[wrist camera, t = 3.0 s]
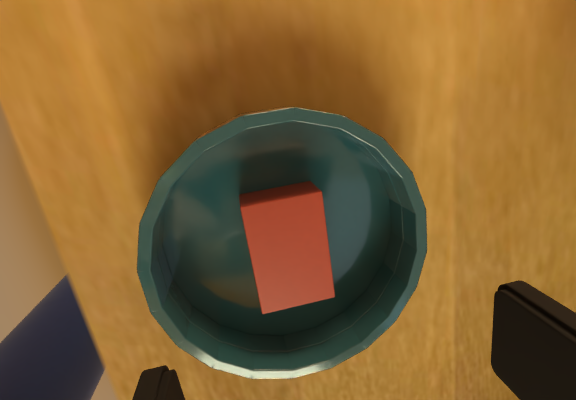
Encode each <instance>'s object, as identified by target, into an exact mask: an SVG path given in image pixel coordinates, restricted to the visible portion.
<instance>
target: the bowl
mask: <svg viewBox="0 0 576 400" xmlns="http://www.w3.org/2000/svg"><path fill="white" fill-rule="evenodd" d="M307 181H311V182H312V183H313V184H314V185H315V186H316V187H317V188H318V189H320V190H321V191H322V196H323V204H324V212H325V220H326V228H327V236H328V244H329V252H330V260H331V268H332V276H333V284H334V292H335V297H333V298H329V299H325V300H321V301H317V302H312V303H308V304H304V305H300V306H296V307H291V308H287V309H283V310H279V311H275V312H270V313H266V314H262V311H261V306H260V302H259V297H258V292H257V287H256V282H255V277H254V273H253V268H252V263H251V258H250V253H249V248H248V244H247V239H246V234H245V229H244V224H243V219H242V215H241V210H240V201H239V195H240V194H244V193H250V192H255V191H260V190H265V189H270V188H276V187H281V186H286V185H291V184H297V183H302V182H307ZM426 253H427V224H426V208H425V205H424V202H423V200H422V197H421V194H420V192H419V189H418V186H417V183H416V181H415V178H414V175H413V173H412V171H411V170H410V169H409V167H408V166H407V165H406V164H405V163H404V161H403V160H402V159H401V158H400V157H399V156H398V154H397V153H396V152H395V151H394V150H393V149H392V147H391V146H390V145H389V144H388V143H387V141H386V140H385V139H383V138H382V137H381V136H379V135H377V134H376V133H374V132H372V131H370V130H368V129H367V128H365V127H363V126H361V125H360V124H358V123H356V122H354V121H353V120H351V119H349V118H347V117H345V116H343V115H339V114H333V113H328V112H322V111H316V110H310V109H304V108H299V107H278V108H272V109H266V110H259V111H254V112H248V113H242V114H241V115H240V114H239V115H237V116H235V117H233V118H231V119H229V120H227V121H225V122H223V123H221V124H220V125H218V126H216V127H214V128H212V129H210V130H208V131H207V132H205V133H203V134H201V135H200V136H199V137H198V138H197V139H196V140H195V141H194V142H193V143H192V144H191V145H190V146H189V147H188V148H187V149H186V150H185V151H184V152H183V153H182V154H181V156H180V157H179V158H178V159H177V160H176V161H175V162H174V163H173V164H172V165H171V166H170V167H169V168H168V169H167V170H166V172H165V173H164V174H163V175H162V176H161V177H160V179H159V180H158V182H157V184H156V186H155V189H154V191H153V193H152V195H151V198H150V200H149V202H148V205H147V207H146V209H145V212H144V214H143V216H142V219H141V221H140V223H139V236H138V256H137V273H138V276H139V279H140V282H141V285H142V288H143V291H144V294H145V297H146V300H147V304H148V307H149V310H150V312H151V314H152V315H153V317H154V318H155V319H156V320H157V322H158V323H159V324H160V325H161V327H162V328H163V329H164V330H165V332H166V333H167V334H168V335H169V337H170V338H171V339H172V340H173V342H174V343H175V344H176V345H177V346H178V347H179V348H181V349H182V350H184V351H185V352H187V353H189V354H190V355H192V356H193V357H195V358H196V359H198V360H200V361H201V362H203V363H204V364H206V365H207V366H209V367H211V368H213V369H217V370H221V371H224V372H228V373H231V374H235V375H239V376H242V377H246V378H251V379H291V378H297V377H300V376H304V375H308V374H312V373H315V372H319V371H323V370H327V369H330V368H332V367H334V366H336V365H338V364H340V363H341V362H343V361H345V360H347V359H349V358H350V357H352V356H354V355H356V354H358V353H360V352H361V351H363V350H365V348H366V349H367V348H368V347H369V346H370V345H371V344H372V343H373V342H374V341H375V340H376V339H377V338H378V337H380V336H381V335H382V334H383V333H384V332H385V331H386V330H387V329H388V328H389V327H390V326H391V325H392V324H393V323H394V322H395V321H396V320H397V318H398V316H399V315H400V313H401V312H402V310H403V308H404V307H405V305H406V304H407V302H408V300H409V299H410V297H411V296H412V294H413V292H414V291H415V289H416V287H417V284H418V281H419V277H420V274H421V270H422V267H423V263H424V260H425V256H426Z"/></svg>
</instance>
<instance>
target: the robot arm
mask: <svg viewBox="0 0 576 400" xmlns="http://www.w3.org/2000/svg"><path fill="white" fill-rule="evenodd" d="M491 365H492V368H493V370H494V372H495V374H496V375H497V376H498V377H499V378H500V379H501V380H502V381H503V382H504V383H505V384H506V385H507V386H508V388H509V389H510V390H511V391H512V392H513V393H514V394H515V395H516V396H517V397H518V398H519V399H520V400H576V313H575V312H573V311H571V310H570V309H568V308H567V307H565V306H563V305H562V304H560V303H558V302H557V301H555V300H554V299H552V298H550V297H549V296H547V295H545V294H544V293H542V292H540V291H539V290H537V289H536V288H534V287H532V286H531V285H529V284H527V283H526V282H524V281H515V282H511V283H506V284H502V285H500V286H499V287H498V291H497V292H496V293H495V296H494V314H493V332H492V351H491ZM132 400H185V398H184V395H183V392H182V389H181V386H180V382H179V379H178V376H177V373H176V371H175V370H169V369H168V367H167V366H161V367H157V368H152V369H148V370H144V371H143V372H142V374H141V376H140V379H139V382H138V385H137V388H136V390H135V393H134V396H133V399H132Z"/></svg>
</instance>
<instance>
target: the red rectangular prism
mask: <svg viewBox="0 0 576 400" xmlns="http://www.w3.org/2000/svg"><path fill="white" fill-rule="evenodd" d="M239 201H240V210H241V215H242V219H243V224H244V229H245V234H246V239H247V244H248V248H249V253H250V258H251V263H252V268H253V273H254V277H255V282H256V287H257V292H258V297H259V302H260V306H261V311H262V314H266V313H270V312H275V311H279V310H283V309H287V308H291V307H296V306H300V305H304V304H308V303H312V302H317V301H321V300H325V299H329V298H333V297H335V292H334V284H333V276H332V268H331V260H330V252H329V244H328V236H327V228H326V220H325V212H324V204H323V196H322V191H321V190H320V189H318V188H317V187H316V186H315V185H314V184H313V183H312V182H311V181H307V182H302V183H297V184H291V185H286V186H281V187H276V188H270V189H265V190H260V191H255V192H250V193H244V194H240V195H239Z"/></svg>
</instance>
